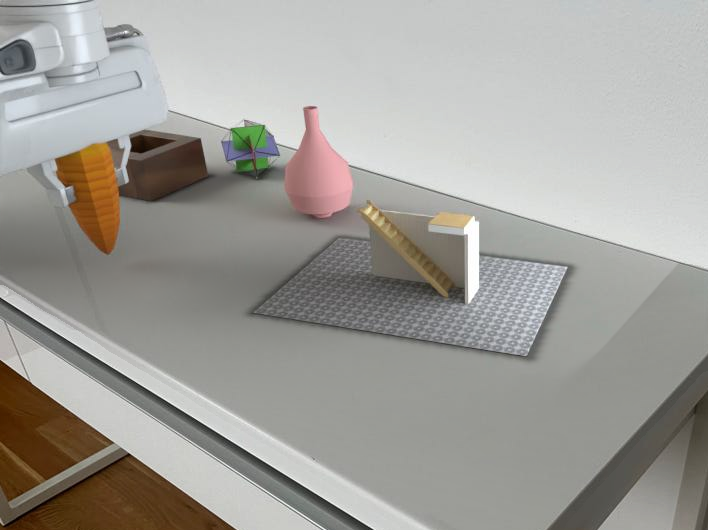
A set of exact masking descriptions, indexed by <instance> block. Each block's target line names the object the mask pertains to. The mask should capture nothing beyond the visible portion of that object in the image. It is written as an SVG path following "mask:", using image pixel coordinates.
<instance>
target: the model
mask: <svg viewBox="0 0 708 530" xmlns="http://www.w3.org/2000/svg"><path fill="white" fill-rule="evenodd" d="M366 204H367V206H366V207H364V208H363V209H362V208H360V207H356V212H357V213H360V216H361V219H362V220H363V221H364V222H365V223H367V225H368V233H369V240H368V241H369V246H370V258H371V270H372V275H373V276H379V277H387V278H392V279H400V280H408V281H416V282H420V283H428V284H430V285H431V286H432V287H433V288H434V289H435V290H436V291H437V292H438V293H439V294H440V295H441V296H444V297H448V296H449V293H448V292H449V291H450V290H451V288H452V287H457V288H464V303H465V304H469V303H470V302H471V300H472V298H473V297H474V295H475V294H476V293H477V291H478V290H479V288H480V256H481V255H480V220H475V215H471V214H470V215H469V214H459V213H453V212H444V211H438V212H437V213H436V214H435V215H430V214H422V213H414V212H412V213H411V212H404V211H395V210H388V209H379V207H377V206H376V205H375V204H374V203H373V202H372V201H371V200H370V199H366Z"/></svg>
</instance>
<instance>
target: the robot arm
mask: <svg viewBox="0 0 708 530" xmlns="http://www.w3.org/2000/svg"><path fill="white" fill-rule="evenodd" d="M169 111H170V108H169V104H168V100H167V95H166V92H165V89H164V86H163V82H162V79H161V76H160V73H159V69H158V68H157V66H156V63H155V61H154V58H153V57H152V55H151V48H150V44H149V40H148V38H147V36H146V35H145V34H144V33H143V32H142V31H140V30H139V29H138V28H135V27H134V26H133V25H132V24H129V23H122V24H118V25H116V26H111V27H109V26H108V27H107V26H106V27H104V22H103V19H102V14H101V8H100V5H99V1H98V0H0V177H4V176H7V175H10V174H13V173H17V172H19V171H22V170H26V171H27V172H28V174H29V175H31V177H32V178H34V179H35V181H37V182H38V183H39V184H40V185H41V186H42V187H43V188H45V191H46V194H47V197H48V200H49V203H50V205H51V206H53V207H56V208H59V209H65V208H67V207H69V205H72V204H74V203H76V202H77V198H76V196H75V195H74V194H75V191H74V187H73V185H69V184H64V183H61V182H60V181H59V180H58V177H57V175H55V174H54V172H55V173H56V171H57V165H56V162H55V159H56V158H59V157H62V156H65V155H68V154H72V153H75V152H78V151H79V150H82V149H84V148H85V147H87V146H90V145H92V144H95V143H106V144H107V145H108V147H109V148H110V151H111V155H112V160H113V164H114V169H115V174H116V179H117V185H118V186H121V185H123V184H126V183H128V182H129V179H128V175H127V170H126V165H127V161H128V157H129V153H130V149H131V142H130V138H129V135H130V134H133V133H136V132H139V131H142V130H149V129H151V128H154V127H157V126H160V125H161V126H162V125H163V124H165V123H166V122H167V119H168V116H169Z"/></svg>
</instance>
